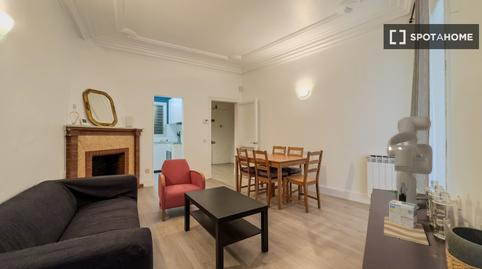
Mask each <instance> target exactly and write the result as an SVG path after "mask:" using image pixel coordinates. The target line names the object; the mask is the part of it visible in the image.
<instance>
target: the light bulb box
mask: <svg viewBox="0 0 482 269" xmlns="http://www.w3.org/2000/svg"><path fill="white" fill-rule="evenodd" d="M397 200H398V199H391V200H390V201H389V202H388V217H389V222H392V223H396V224H399V225H402V226H406V227H409V228H413V229H414V228H415V227H416V226H417V223H418V209H417V205H418V204H417V205H416V204H411V203H406V202H402V201H397Z"/></svg>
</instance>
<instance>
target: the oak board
mask: <svg viewBox="0 0 482 269" xmlns="http://www.w3.org/2000/svg"><path fill="white" fill-rule="evenodd" d="M383 220H384V221H383V236H386V237H392V238H395V237H396V239H399V238H400V240H404V241H408V242H412V243H417V244H420V245H421V244H422V245H426V246H429V242H428V241H429V240H428V239H427V234H426V232H425V230H424V226H423V224H422V223H418V222H417V226H416V227H415V228H414V229H413V228H409V227H406V226H402V225H399V224H396V223H392V222H389V216H384V218H383Z"/></svg>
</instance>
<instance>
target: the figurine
mask: <svg viewBox="0 0 482 269" xmlns="http://www.w3.org/2000/svg"><path fill="white" fill-rule="evenodd" d="M387 191H388V192H389V193H390V192H391V193H394V194H395V199H396V200H398V190H397V189H394V190H391V189H388V190H387Z"/></svg>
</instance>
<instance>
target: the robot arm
mask: <svg viewBox="0 0 482 269" xmlns="http://www.w3.org/2000/svg"><path fill="white" fill-rule="evenodd" d="M431 127H432V121H431V118H430V117H428V116H426V115H425V116H424V115H422V116H421V115H420V116H418V115H417V116H406V117H405V116H404V117H403V118H401V119H399V120H397V130H398V131H397V133H396V134H394V135H393V136H392V137H390V139H389V140H388V142H387V146H386V147H387V148H386V156H388V157H390V158H394V172H396V179H395V180H396V181H395V182H396V184H395V185H396V186H395V188H396V189H395V190H398V196H397V198H398V199H396V200H397V201H402V202H406V203H411V204H416V205H417V210H419V209H420V206H419V204H422V203H423V201H422V200H421V199H417V186H418V185H417V183H418V182H417V181H418V180H417V178H416V177H415V176H414V175H413V174H418V175H419V174H421V175H430V174H431V173H432V172H433V153H434V152H433V147H432V146H431V145H430V144H427V143H418V140H419V139H418V137H417V131H429V130H430V129H431Z"/></svg>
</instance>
